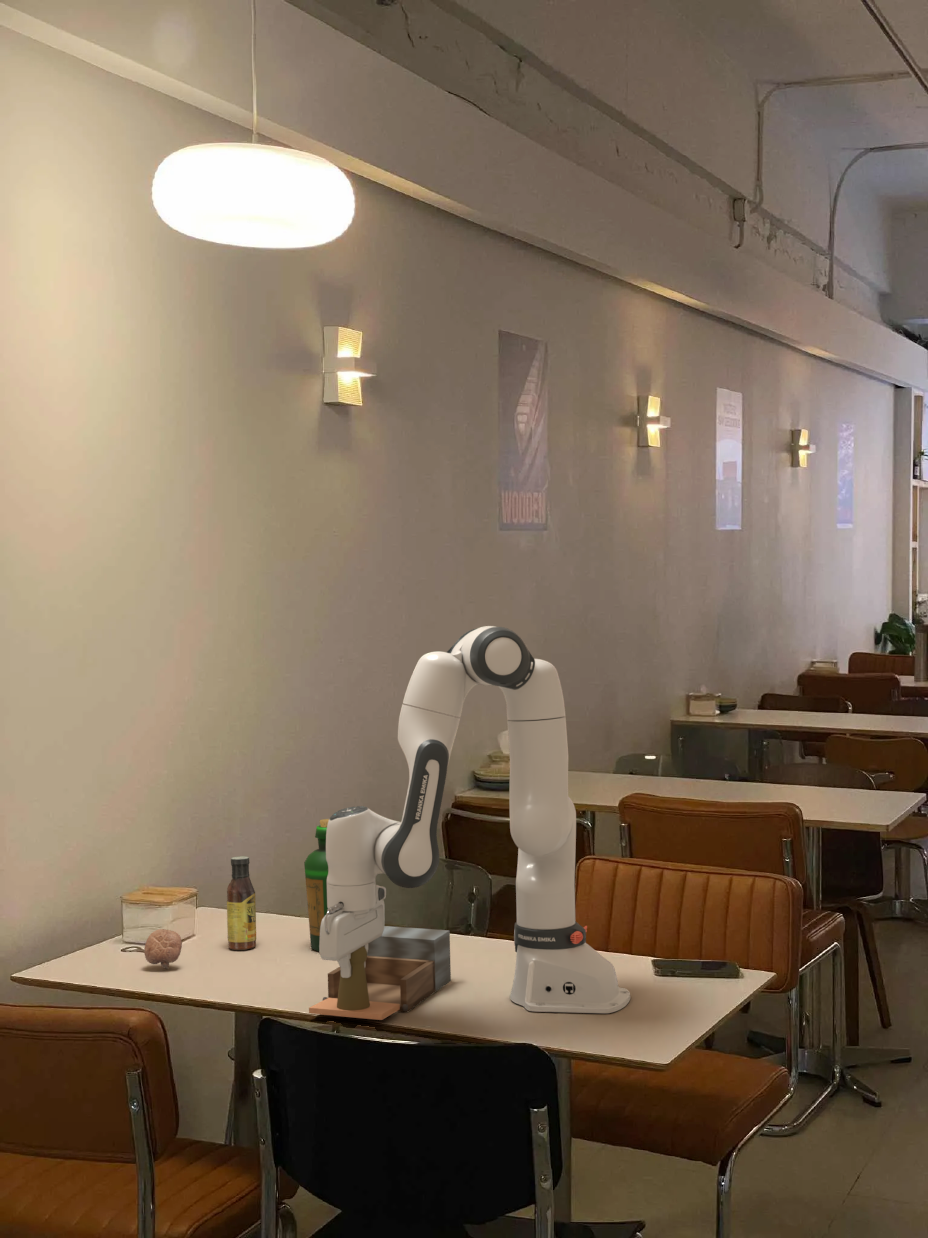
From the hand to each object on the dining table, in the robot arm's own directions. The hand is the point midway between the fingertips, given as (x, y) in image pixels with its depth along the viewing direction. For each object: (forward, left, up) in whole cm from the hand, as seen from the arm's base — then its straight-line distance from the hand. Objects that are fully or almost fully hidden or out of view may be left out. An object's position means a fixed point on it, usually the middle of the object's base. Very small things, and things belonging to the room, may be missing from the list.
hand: (353, 973), depth 252 cm
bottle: (+27, -44, -8) cm, 53 cm away
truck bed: (0, -16, -8) cm, 18 cm away
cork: (0, 0, -6) cm, 6 cm away
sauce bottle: (+46, -39, -8) cm, 61 cm away
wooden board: (0, -4, -7) cm, 8 cm away
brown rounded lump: (+53, -19, -8) cm, 57 cm away
